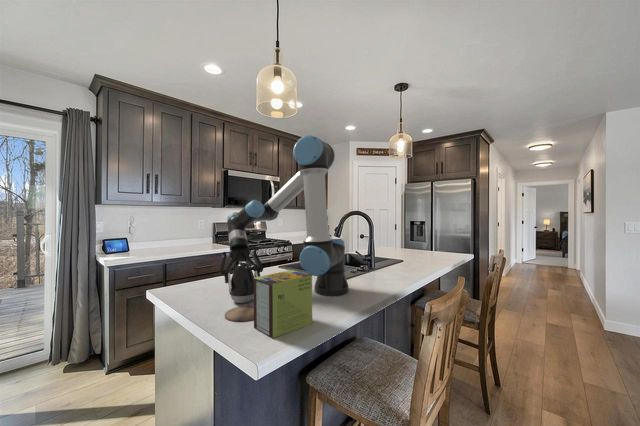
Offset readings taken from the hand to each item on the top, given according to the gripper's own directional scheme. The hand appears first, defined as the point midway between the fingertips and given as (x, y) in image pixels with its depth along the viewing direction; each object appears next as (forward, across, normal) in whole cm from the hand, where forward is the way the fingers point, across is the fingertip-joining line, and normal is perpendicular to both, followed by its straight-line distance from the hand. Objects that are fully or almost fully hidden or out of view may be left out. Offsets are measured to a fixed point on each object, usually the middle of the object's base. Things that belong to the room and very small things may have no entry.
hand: (244, 288), depth 106 cm
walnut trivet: (+12, +2, +4) cm, 13 cm away
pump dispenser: (+2, 0, -6) cm, 7 cm away
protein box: (+22, -8, +14) cm, 27 cm away
